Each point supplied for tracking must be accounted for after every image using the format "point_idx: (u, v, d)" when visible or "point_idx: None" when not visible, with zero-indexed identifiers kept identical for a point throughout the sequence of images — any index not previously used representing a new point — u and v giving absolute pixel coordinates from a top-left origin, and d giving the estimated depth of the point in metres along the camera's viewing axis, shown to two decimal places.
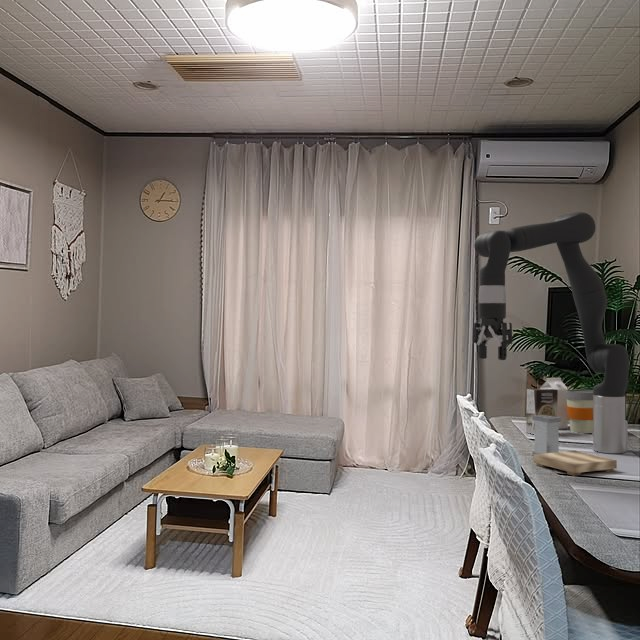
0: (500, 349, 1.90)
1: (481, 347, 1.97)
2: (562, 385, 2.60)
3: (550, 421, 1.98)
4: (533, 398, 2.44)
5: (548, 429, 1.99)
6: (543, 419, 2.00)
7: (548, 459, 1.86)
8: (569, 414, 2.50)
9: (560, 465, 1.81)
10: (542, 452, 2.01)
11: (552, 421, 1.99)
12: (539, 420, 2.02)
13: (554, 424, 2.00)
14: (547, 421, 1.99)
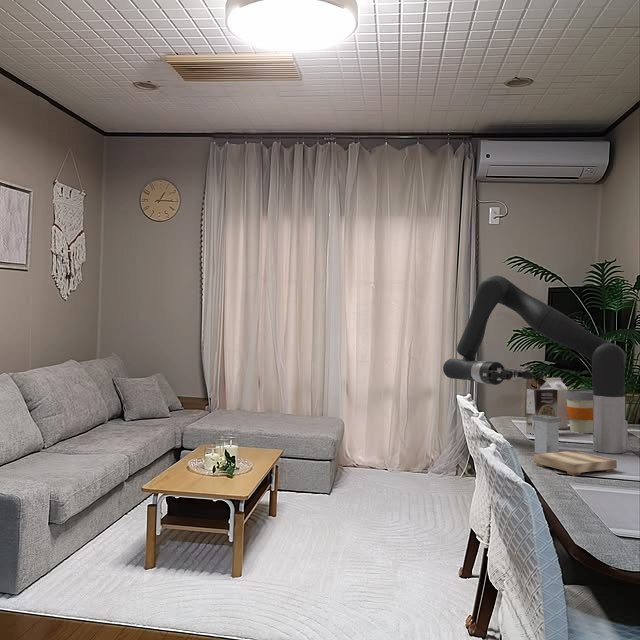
0: (502, 378, 2.13)
1: (523, 377, 2.17)
2: (562, 385, 2.60)
3: (550, 421, 1.98)
4: (533, 398, 2.44)
5: (548, 429, 1.99)
6: (543, 419, 2.00)
7: (548, 459, 1.86)
8: (569, 414, 2.50)
9: (560, 465, 1.81)
10: (542, 452, 2.01)
11: (552, 421, 1.99)
12: (539, 420, 2.02)
13: (554, 424, 2.00)
14: (547, 421, 1.99)
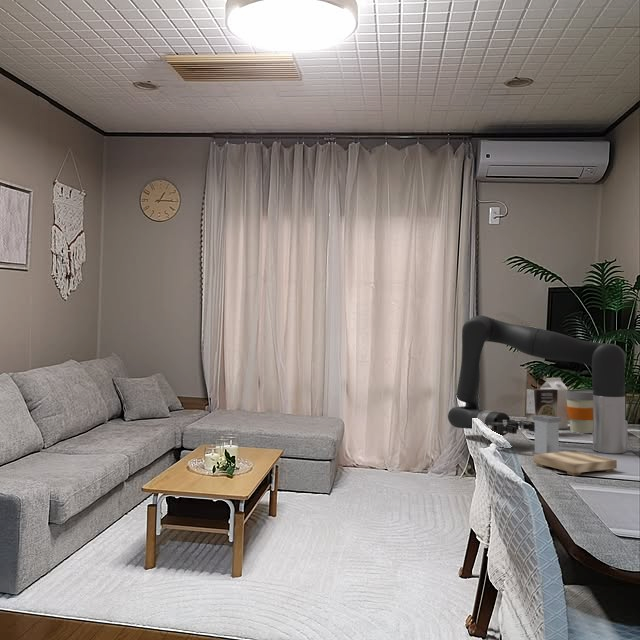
0: (508, 432, 2.11)
1: (529, 429, 2.15)
2: (562, 385, 2.60)
3: (550, 421, 1.98)
4: (533, 398, 2.44)
5: (548, 429, 1.99)
6: (543, 419, 2.00)
7: (548, 459, 1.86)
8: (569, 414, 2.50)
9: (560, 465, 1.81)
10: (542, 452, 2.01)
11: (552, 421, 1.99)
12: (539, 420, 2.02)
13: (554, 424, 2.00)
14: (547, 421, 1.99)
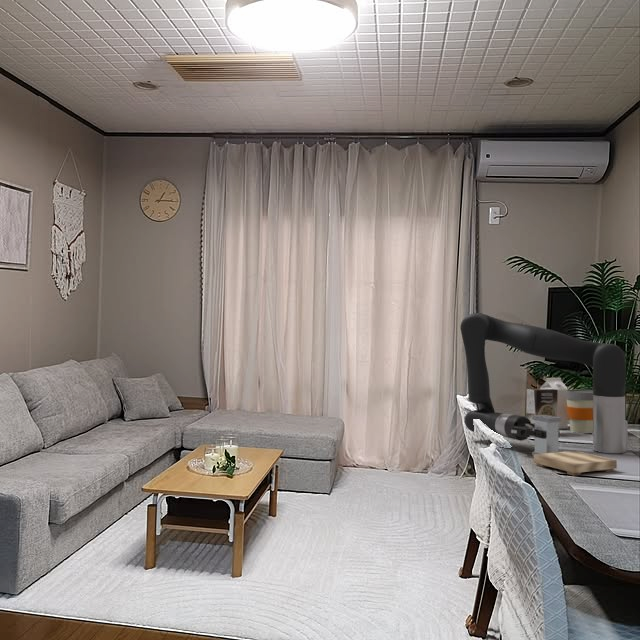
0: (537, 436, 2.02)
1: None
2: (562, 385, 2.60)
3: (550, 421, 1.98)
4: (533, 398, 2.44)
5: (548, 428, 1.99)
6: (543, 419, 2.00)
7: (548, 459, 1.86)
8: (569, 414, 2.50)
9: (560, 465, 1.81)
10: (542, 452, 2.01)
11: (552, 421, 1.99)
12: (539, 420, 2.02)
13: (554, 424, 2.00)
14: (547, 421, 1.99)
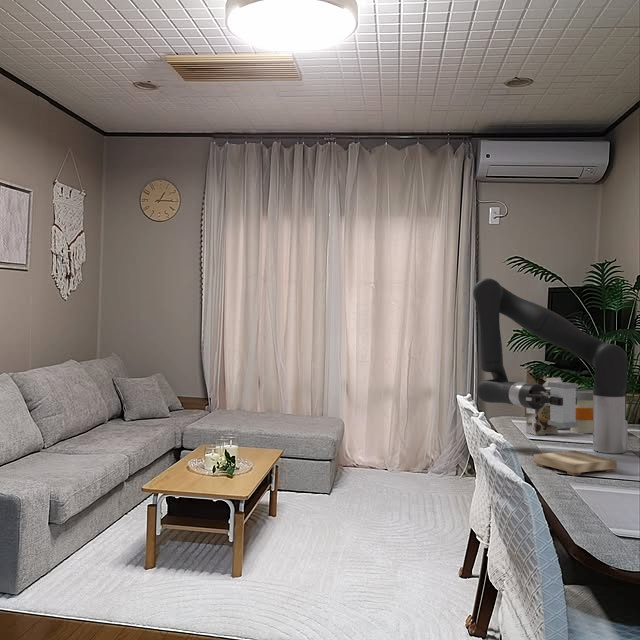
0: (553, 404, 1.92)
1: None
2: None
3: (567, 387, 1.89)
4: None
5: (564, 395, 1.90)
6: (559, 385, 1.91)
7: (548, 459, 1.86)
8: None
9: (560, 465, 1.81)
10: (558, 420, 1.91)
11: (569, 387, 1.89)
12: (555, 386, 1.92)
13: (571, 391, 1.90)
14: (564, 387, 1.89)
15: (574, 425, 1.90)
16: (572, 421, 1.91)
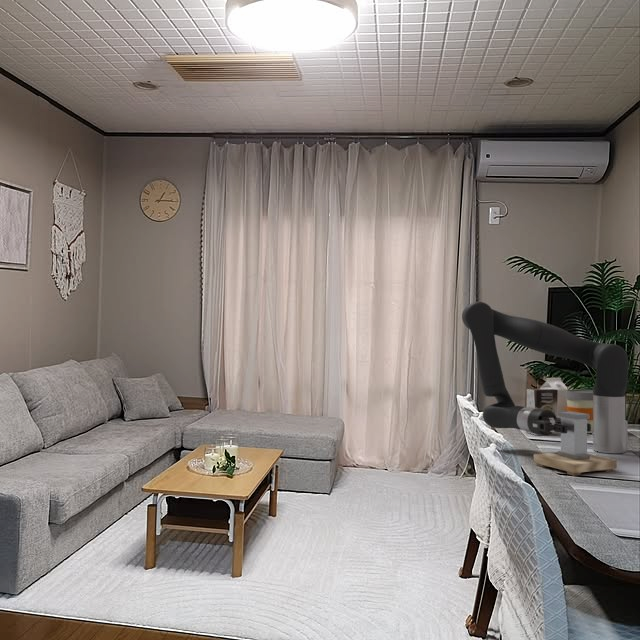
0: (557, 431, 1.87)
1: None
2: (562, 385, 2.60)
3: (578, 418, 1.83)
4: (533, 398, 2.44)
5: (576, 426, 1.84)
6: (570, 416, 1.85)
7: (548, 459, 1.86)
8: None
9: (560, 465, 1.81)
10: (569, 451, 1.86)
11: (580, 418, 1.84)
12: (566, 417, 1.87)
13: (582, 421, 1.85)
14: (575, 418, 1.84)
15: (586, 457, 1.84)
16: (583, 452, 1.85)
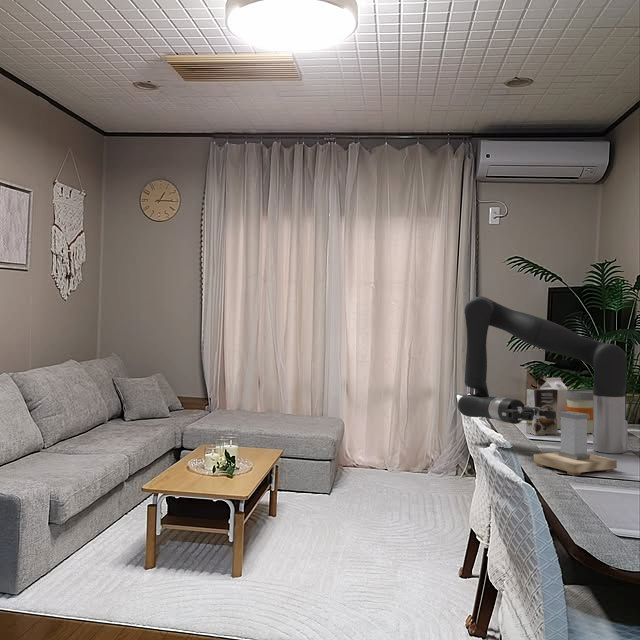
0: (524, 419, 1.99)
1: (546, 416, 2.03)
2: (562, 385, 2.60)
3: (578, 418, 1.83)
4: (533, 398, 2.44)
5: (576, 426, 1.84)
6: (570, 416, 1.85)
7: (548, 459, 1.86)
8: None
9: (560, 465, 1.81)
10: (569, 451, 1.86)
11: (580, 418, 1.84)
12: (566, 417, 1.87)
13: (582, 421, 1.85)
14: (575, 418, 1.84)
15: (586, 457, 1.84)
16: (583, 452, 1.85)
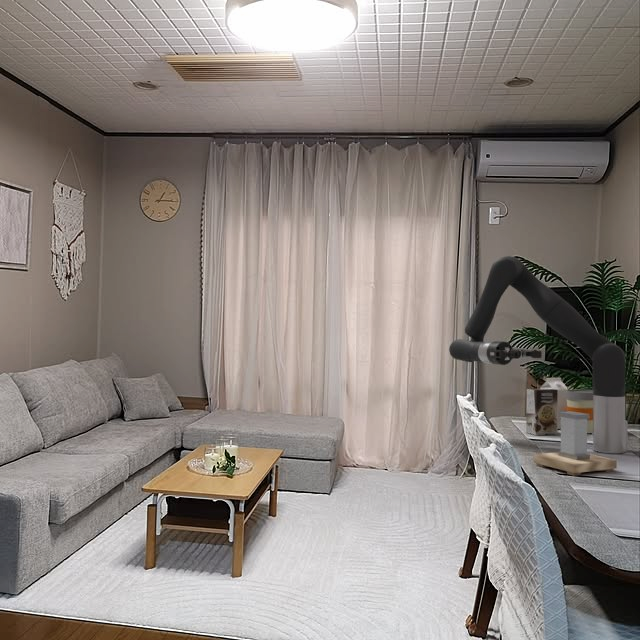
0: (510, 357, 2.08)
1: (532, 356, 2.12)
2: (562, 385, 2.60)
3: (578, 418, 1.83)
4: (533, 398, 2.44)
5: (576, 426, 1.84)
6: (570, 416, 1.85)
7: (548, 459, 1.86)
8: None
9: (560, 465, 1.81)
10: (569, 451, 1.86)
11: (580, 418, 1.84)
12: (566, 417, 1.87)
13: (582, 421, 1.85)
14: (575, 418, 1.84)
15: (586, 457, 1.84)
16: (583, 452, 1.85)
